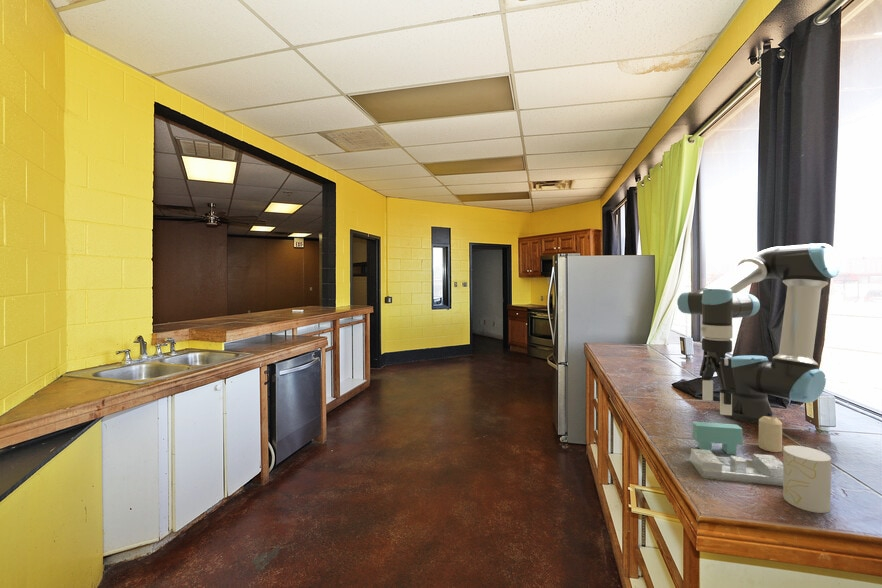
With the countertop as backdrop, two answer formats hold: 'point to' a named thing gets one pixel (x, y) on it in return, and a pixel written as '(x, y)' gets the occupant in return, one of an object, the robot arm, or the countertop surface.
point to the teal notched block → (718, 436)
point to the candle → (770, 434)
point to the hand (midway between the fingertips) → (716, 407)
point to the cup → (807, 478)
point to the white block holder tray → (738, 467)
